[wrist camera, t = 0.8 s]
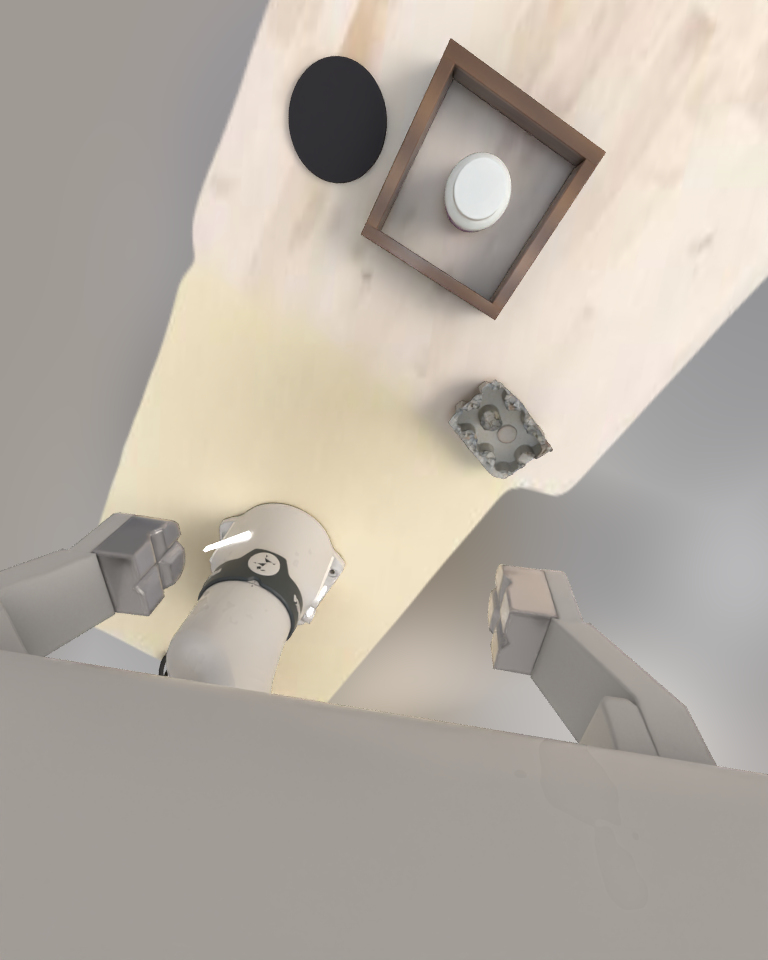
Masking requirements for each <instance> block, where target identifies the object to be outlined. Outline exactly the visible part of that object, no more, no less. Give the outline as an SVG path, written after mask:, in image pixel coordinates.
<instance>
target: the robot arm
mask: <svg viewBox="0 0 768 960" xmlns="http://www.w3.org/2000/svg"><path fill="white" fill-rule="evenodd" d="M180 535H181V532H180V528H179V524H178V523H177V522H175V521H173V520H167V519H160V518H154V517H148V516H141V515H133V514H127V513H115V514H112V515H111V516H110V517H109V518H107V519H106V520H105V521H104V522H102V523H101V524H100V525H99V526H98V527H96V528H95V529H94V530H93V531H91V532H90V533H89V534H88V535H86V536H85V537H84V538H83V539H81V540H80V541H79V542H78V543H76V544H75V545H74V546H73V547H72V548H70V549H69V550H68V549H61V550H58V551H55V552H52V553H50V554H47V555H44V556H41V557H38V558H36V559H33V560H30V561H27V562H24V563H22V564H19V565H16V566H13V567H10V568H8V569H4V570H2V571H0V960H768V774H763V773H757V772H751V771H745V770H738V769H732V768H726V767H720V766H717V765H716V763H715V761H714V759H713V757H712V755H711V754H710V752H709V750H708V748H707V746H706V744H705V742H704V740H703V738H702V736H701V734H700V732H699V730H698V728H697V726H696V724H695V723H694V721H693V719H692V717H691V715H690V713H689V711H688V709H687V707H686V706H685V705H684V704H683V703H681V702H680V701H679V700H678V699H677V698H676V697H674V696H673V695H672V694H671V693H670V692H668V690H666V689H665V688H664V687H663V686H662V685H661V684H659V683H658V682H657V681H656V680H655V679H654V678H653V677H651V676H650V675H649V674H648V673H647V672H646V671H644V670H643V669H642V668H641V667H640V666H639V665H638V664H637V663H635V662H634V661H633V660H632V659H631V658H630V657H628V656H627V655H626V654H625V653H624V652H623V651H622V650H620V649H619V648H618V647H617V646H616V645H615V644H613V643H612V642H611V641H610V640H609V639H608V638H607V637H605V636H604V635H603V634H602V633H601V632H599V631H598V630H597V629H596V628H595V627H594V626H593V625H592V624H590V623H584V621H583V618H582V616H581V613H580V610H579V608H578V605H577V602H576V600H575V597H574V594H573V592H572V589H571V586H570V584H569V581H568V578H567V576H566V574H565V573H564V572H563V571H554V570H545V569H542V570H540V569H532V568H524V567H516V566H509V565H500V564H499V566H498V568H497V571H496V575H495V580H496V588H495V589H493V590H492V591H491V595H490V600H489V607H488V626H489V630H490V631H491V633H492V634H493V638H492V641H491V653H492V661H493V668H494V669H498V670H504V671H510V672H515V673H521V674H527V675H531V678H532V679H533V681H534V682H535V684H536V685H537V686H538V688H539V689H540V691H541V692H542V694H543V695H544V696H545V698H546V699H547V700H548V702H549V703H550V705H551V706H552V707H553V708H554V710H555V711H556V713H557V714H558V716H559V717H560V718H561V720H562V721H563V723H564V724H565V725H566V727H567V728H568V730H569V731H570V732H571V734H572V735H573V736H574V738H575V739H576V741H577V742H578V743H572V742H566V741H560V740H553V739H548V738H542V737H536V736H529V735H523V734H517V733H510V732H505V731H499V730H492V729H486V728H480V727H474V726H468V725H462V724H456V723H449V722H443V721H437V720H431V719H425V718H418V717H412V716H406V715H400V714H394V713H388V712H382V711H376V710H369V709H363V708H357V707H351V706H345V705H339V704H332V703H326V702H320V701H314V700H308V699H302V698H296V697H289V696H283V695H277V694H271V689H272V683H273V679H274V675H275V672H276V668H277V665H278V662H279V659H280V656H281V653H282V650H283V647H284V645H285V642H286V641H287V640H288V639H289V638H290V637H291V635H292V633H293V632H294V630H295V629H296V627H297V625H302V624H304V623H305V622H306V623H309V624H310V622H311V621H312V619H313V617H314V615H315V612H316V608H317V606H318V604H319V603H320V602H321V600H322V599H323V598H324V596H325V595H326V593H327V592H328V591H329V589H330V588H331V586H332V585H333V584H334V582H335V581H336V580H337V578H338V577H339V575H340V574H341V573H342V571H343V569H344V567H345V562H344V560H343V559H342V558H341V556H340V555H339V554H338V553H337V552H336V551H335V550H334V548H333V546H332V544H331V541H330V539H329V536H328V534H327V533H326V531H325V529H324V528H323V527H322V525H321V524H320V523H319V522H318V521H317V520H316V519H315V518H313V517H312V516H311V515H309V514H308V513H306V512H304V511H302V510H300V509H298V508H296V507H293V506H289V505H285V504H277V503H271V504H263V505H259V506H257V507H254V508H252V509H250V510H249V511H247V512H246V513H244V514H243V515H241V516H237V517H231V518H227V519H224V520H223V521H222V523H221V525H220V542H218V543H215V544H212V545H209V546H207V547H206V548H205V549H204V551H205V552H206V551H209V550H212V549H214V548H216V550H215V551H214V553H213V555H212V556H211V558H210V563H211V572H212V574H211V576H209V578H208V579H207V581H206V582H205V584H204V586H203V588H202V590H201V592H200V594H199V597H198V602H197V603H196V605H195V606H194V608H193V609H192V611H191V612H190V613H189V615H188V616H187V618H186V619H185V621H184V622H183V624H182V625H181V626H180V628H179V629H178V631H177V632H176V634H175V635H174V636H173V638H172V639H171V642H170V644H169V647H168V650H167V654H166V655H165V656H164V657H163V659H162V661H161V664H160V668H159V675H154V674H148V673H141V672H135V671H129V670H123V669H117V668H111V667H104V666H98V665H92V664H86V663H79V662H74V661H67V660H61V659H55V658H49V657H45V656H47V655H48V654H50V653H51V652H53V651H55V650H57V649H58V648H60V647H61V646H63V645H65V644H66V643H68V642H70V641H71V640H73V639H75V638H76V637H78V636H80V635H81V634H83V633H84V632H86V631H88V630H89V629H91V628H93V627H94V626H96V625H98V624H99V623H101V622H103V621H104V620H106V619H108V618H109V617H111V616H113V615H114V614H115V612H118V613H126V614H134V615H143V616H149V615H150V614H151V613H152V612H153V610H154V609H155V608H156V607H157V605H158V604H159V603H160V602H161V600H162V599H163V598H164V597H165V596H164V589H165V588H167V587H169V586H171V585H173V584H175V583H176V581H177V580H178V579H179V577H180V576H181V574H182V571H183V568H184V566H185V552H184V548H183V547H182V546H181V545H180V544H179V542H178V541H177V539H178V538H179V537H180ZM332 570H334V571H332ZM165 663H166V667H167V670H166V672H165V674H164V675H163V669H164V665H165ZM168 675H169V677H167V676H168Z"/></svg>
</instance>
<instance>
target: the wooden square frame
mask: <svg viewBox="0 0 768 960" xmlns="http://www.w3.org/2000/svg"><path fill="white" fill-rule="evenodd" d="M453 78H454V79H455V80H456V81H458V82H459V83H460V84H462V85H463V86H465V87H466V88H467V89H469V90H470V91H472V92H473V93H474V94H476V95H477V96H479V97H480V98H481V99H483V100H484V101H485V102H487V103H488V104H490V105H491V106H492V107H494V108H495V109H497V110H498V111H499V112H501V113H502V114H503V115H505V116H506V117H508V118H509V119H510V120H512V121H513V122H515V123H516V124H517V125H519V126H520V127H522V128H523V129H524V130H526V131H527V132H528V133H530V134H531V135H533V136H534V137H535V138H537V139H538V140H540V141H541V142H542V143H544V144H545V145H546V146H548V147H549V148H551V149H552V150H553V151H555V152H556V153H558V154H559V155H560V156H562V157H563V158H565V159H566V160H567V161H569V162H570V163H571V164H573V165H574V166H576V167H575V168H574V169H573V171H572V172H571V174H570V176H569V177H568V179H567V180H566V182H565V183H564V185H563V186H562V188H561V190H560V191H559V193H558V194H557V196H556V197H555V199H554V201H553V202H552V204H551V205H550V207H549V208H548V210H547V211H546V213H545V215H544V216H543V218H542V219H541V221H540V222H539V224H538V226H537V227H536V229H535V230H534V232H533V233H532V235H531V236H530V238H529V240H528V241H527V243H526V244H525V246H524V247H523V249H522V251H521V252H520V254H519V255H518V257H517V258H516V260H515V261H514V263H513V265H512V266H511V268H510V269H509V271H508V272H507V274H506V276H505V277H504V279H503V280H502V282H501V283H500V285H499V286H498V288H497V290H496V291H495V293H494V294H493V296H492V297H491V299H490V301H488V300H487V299H485V298H484V297H482V296H480V295H479V294H477V293H476V292H474V291H473V290H471V289H470V288H468V287H467V286H465V285H463V284H462V283H460V282H459V281H457V280H456V279H454V278H453V277H451V276H449V275H448V274H446V273H445V272H443V271H442V270H440V269H439V268H437V267H436V266H434V265H432V264H431V263H429V262H428V261H426V260H425V259H423V258H422V257H420V256H418V255H417V254H415V253H414V252H412V251H411V250H409V249H408V248H406V247H405V246H403V245H401V244H400V243H398V242H397V241H395V240H394V239H392V238H391V237H389V236H387V235H386V234H384V233H383V232H381V229H382V226H383V224H384V222H385V220H386V218H387V216H388V214H389V212H390V210H391V208H392V205H393V203H394V201H395V199H396V197H397V195H398V193H399V191H400V189H401V187H402V185H403V182H404V180H405V178H406V176H407V174H408V172H409V170H410V168H411V166H412V164H413V161H414V159H415V157H416V155H417V153H418V151H419V149H420V147H421V145H422V143H423V140H424V138H425V136H426V134H427V132H428V130H429V128H430V126H431V124H432V122H433V120H434V117H435V115H436V113H437V111H438V109H439V107H440V105H441V103H442V101H443V99H444V96H445V94H446V92H447V90H448V88H449V86H450V84H451V82H452V80H453ZM605 153H606V152H605V151H604V150H602V149H601V148H600V147H598V146H597V145H595V144H594V143H593V142H591V141H590V140H589V139H587V138H586V137H585V136H583V135H582V134H580V133H579V132H578V131H576V130H575V129H574V128H572V127H571V126H570V125H568V124H567V123H566V122H564V121H563V120H561V119H560V118H559V117H557V116H556V115H555V114H553V113H552V112H551V111H549V110H548V109H547V108H545V107H544V106H542V105H541V104H540V103H538V102H537V101H536V100H534V99H533V98H532V97H530V96H529V95H527V94H526V93H525V92H523V91H522V90H521V89H519V88H518V87H517V86H515V85H514V84H513V83H511V82H510V81H508V80H507V79H506V78H504V77H503V76H502V75H500V74H499V73H498V72H496V71H495V70H493V69H492V68H491V67H489V66H488V65H487V64H485V63H484V62H483V61H481V60H480V59H479V58H477V57H476V56H474V55H473V54H472V53H470V52H469V51H468V50H466V49H465V48H464V47H462V46H461V45H459V44H458V43H457V42H455V41H454V40H453V39H450V41H449V43H448V45H447V47H446V50H445V52H444V54H443V56H442V58H441V60H440V63H439V65H438V67H437V69H436V71H435V74H434V76H433V78H432V80H431V82H430V85H429V87H428V89H427V91H426V93H425V95H424V98H423V100H422V102H421V104H420V106H419V109H418V111H417V113H416V115H415V117H414V119H413V122H412V124H411V126H410V128H409V130H408V133H407V135H406V137H405V139H404V141H403V143H402V146H401V148H400V150H399V152H398V154H397V157H396V159H395V161H394V163H393V165H392V167H391V170H390V172H389V174H388V176H387V178H386V181H385V183H384V185H383V187H382V189H381V191H380V194H379V196H378V198H377V200H376V202H375V205H374V207H373V209H372V211H371V213H370V216H369V218H368V220H367V222H366V224H365V226H364V229H363V231H362V233H361V235H363V236H364V237H366V238H367V239H369V240H371V241H372V242H374V243H375V244H377V245H378V246H380V247H381V248H383V249H385V250H386V251H388V252H389V253H391V254H392V255H394V256H396V257H397V258H399V259H400V260H402V261H403V262H405V263H407V264H408V265H410V266H411V267H413V268H414V269H416V270H417V271H419V272H421V273H422V274H424V275H425V276H427V277H428V278H430V279H432V280H433V281H435V282H436V283H438V284H439V285H441V286H442V287H444V288H446V289H447V290H449V291H450V292H452V293H453V294H455V295H457V296H458V297H460V298H461V299H463V300H464V301H466V302H468V303H469V304H471V305H472V306H474V307H475V308H477V309H478V310H480V311H482V312H483V313H485V314H486V315H488V316H489V317H491V318H493V319H494V320H495V319H496V318H497V316H498V315H499V313H500V312H501V310H502V309H503V307H504V306H505V304H506V303H507V301H508V300H509V298H510V297H511V295H512V294H513V292H514V291H515V289H516V288H517V286H518V285H519V283H520V282H521V280H522V279H523V277H524V275H525V274H526V272H527V271H528V269H529V268H530V266H531V265H532V263H533V262H534V260H535V259H536V257H537V256H538V254H539V253H540V251H541V250H542V248H543V247H544V245H545V244H546V242H547V241H548V239H549V238H550V236H551V235H552V233H553V232H554V230H555V229H556V227H557V226H558V224H559V223H560V221H561V220H562V218H563V216H564V215H565V213H566V212H567V210H568V209H569V207H570V206H571V204H572V203H573V201H574V200H575V198H576V197H577V195H578V194H579V192H580V191H581V189H582V188H583V186H584V185H585V183H586V182H587V180H588V179H589V177H590V176H591V174H592V173H593V171H594V170H595V168H596V166H597V165H598V164H599V162H600V161H601V159H602V158H603V156H604V155H605Z"/></svg>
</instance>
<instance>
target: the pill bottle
mask: <svg viewBox="0 0 768 960" xmlns="http://www.w3.org/2000/svg"><path fill="white" fill-rule="evenodd" d="M510 196H511V178H510V174H509V171H508V169H507V167H506V166H505V164H504V163H503V162H502V161H501V160H500V159H499V158H498V157H496V156H495V155H493V154H490V153H485V152H479V153H474V154H471V155H469V156H467V157H465V158H464V159H462V160H461V161H460V162H459V163H458V164H457V165H456V166H455V167H454V169H453V170H452V172H451V174H450V176H449V178H448V180H447V183H446V187H445V194H444V197H445V210H446V213H447V216H448V218H449V220H450V221H451V223H452V224H453V225H454V226H455V227H456V228H458V229H460V230H462V231H465V232H476V231H480V230H483V229H486V228H488V227H490V226H491V225H493V224H494V223H495V222H496V221H497V220H498V219H499V218H500V217H501V216H502V215H503V213H504V211H505V209H506V208H507V205H508V203H509V200H510Z"/></svg>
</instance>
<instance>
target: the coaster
mask: <svg viewBox="0 0 768 960" xmlns="http://www.w3.org/2000/svg"><path fill="white" fill-rule="evenodd" d="M386 128H387V117H386V108H385V103H384V100H383V97H382V94H381V91H380V89H379V87H378V85H377V83H376V81H375V80H374V78H373V77H372V75H371V74H370V73H369V72H368V71H367V70H366V69H365V68H364V67H363V66H362V65H360V64H359V63H358V62H356V61H354V60H352V59H349V58H346V57H340V56H331V57H326V58H323V59H321V60H318V61H317V62H315V63H314V64H312V65H311V66H310V67H309V68H307V69H306V71H305V72H304V73H303V74H302V75H301V77H300V79H299V80H298V82H297V84H296V86H295V88H294V91H293V93H292V97H291V101H290V107H289V129H290V135H291V139H292V142H293V145H294V148H295V150H296V152H297V154H298V156H299V158H300V159H301V161H302V162H303V164H304V165H305V166H306V167H307V168H308V169H309V170H310V171H311V172H312V173H313V174H315V175H316V176H318V177H319V178H321V179H323V180H326V181H329V182H333V183H346V182H350V181H353V180H356V179H357V178H359V177H361V176H362V175H364V174H365V173H366V172H367V171H368V170H369V169H370V168H371V167H372V166H373V165H374V163H375V162H376V160H377V158H378V157H379V154H380V152H381V150H382V147H383V144H384V140H385V136H386Z"/></svg>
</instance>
